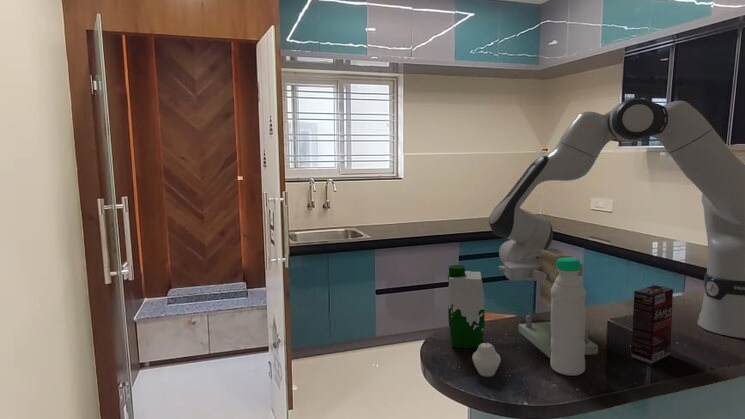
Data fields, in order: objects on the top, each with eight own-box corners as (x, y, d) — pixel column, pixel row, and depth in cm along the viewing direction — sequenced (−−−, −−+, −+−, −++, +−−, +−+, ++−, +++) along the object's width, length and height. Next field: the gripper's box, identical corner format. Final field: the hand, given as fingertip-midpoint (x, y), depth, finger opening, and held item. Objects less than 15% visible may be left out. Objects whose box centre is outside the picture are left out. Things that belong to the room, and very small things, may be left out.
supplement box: (652, 365, 101) (654, 295, 99) (630, 357, 105) (632, 290, 103) (672, 355, 105) (674, 288, 104) (650, 348, 110) (652, 284, 108)
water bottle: (556, 377, 97) (557, 263, 94) (546, 362, 104) (546, 255, 101) (590, 376, 97) (592, 262, 94) (577, 362, 104) (578, 255, 101)
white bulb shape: (467, 375, 100) (466, 344, 99) (479, 364, 104) (479, 335, 104) (493, 383, 96) (493, 351, 95) (505, 371, 100) (505, 341, 100)
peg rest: (560, 327, 124) (560, 310, 124) (597, 353, 108) (598, 333, 107) (518, 331, 123) (518, 313, 123) (549, 358, 106) (549, 337, 106)
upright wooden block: (554, 301, 119) (555, 249, 117) (571, 311, 111) (572, 255, 109) (540, 302, 118) (540, 249, 117) (555, 312, 110) (556, 256, 109)
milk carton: (449, 335, 122) (448, 262, 120) (484, 336, 120) (483, 263, 118) (448, 348, 114) (446, 271, 111) (485, 350, 112) (484, 271, 110)
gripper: (496, 255, 125) (517, 267, 111) (566, 251, 127) (595, 262, 113) (496, 277, 126) (517, 291, 112) (566, 272, 128) (595, 286, 114)
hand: (557, 276), depth 113 cm, fingers closed on upright wooden block, 4 cm apart
